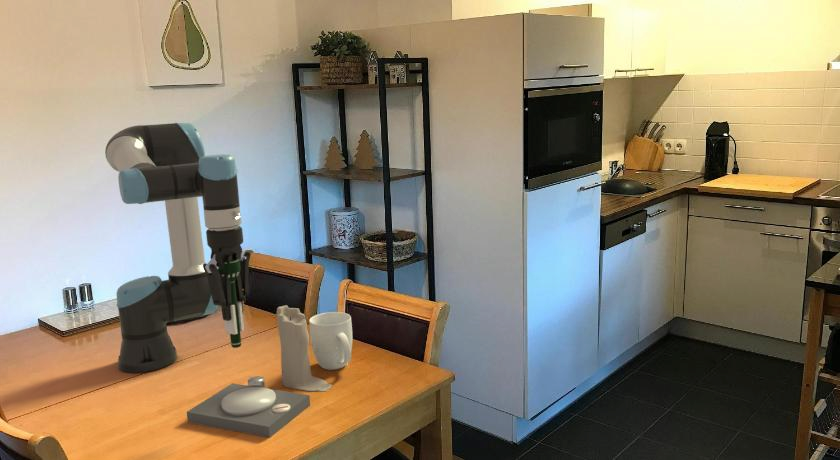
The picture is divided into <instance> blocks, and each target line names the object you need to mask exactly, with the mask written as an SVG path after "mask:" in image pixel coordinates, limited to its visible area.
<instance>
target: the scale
mask: <svg viewBox="0 0 840 460" xmlns="http://www.w3.org/2000/svg"><path fill="white" fill-rule="evenodd" d="M310 396H311V395H310V394H306V393H305V394H304V393H300V392H292V391H285V390H279V389H271V388H267V387H265V388H263V387H254V386H248V384H247V385H245V384H240V383H233V382H231V383H230V384H229V385H227V386H225V387H224V388H222V389H221V390H219V391H218V392H216V393H215V394H213V395H211V396H210V397H208V398H206V399H205V400H204V401H201V402H200V403H199V404H197V405H196V406H193V407H192V408H191V409H189V410H187V411H186V418H187V423H190V424H194V425H195V424H196V425H200V426H206V427H211V428H216V429H222V430H225V431H226V430H228V431H233V432H239V433H244V434H249V435H255V436H259V437H265V438H270V439H271V437H272V436H274V435H275V434H277V432H279V431H280V430H281V429H282V428H284V427H285V426H286V425H288V423H290V422H291V421H293V419H295V418H296V417H297V416H299V415H300V414H301V413H302V412H304V411H305V410H306V409H307V408H308V407H310V406H311V399H310V398H311V397H310Z"/></svg>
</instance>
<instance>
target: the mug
mask: <svg viewBox="0 0 840 460" xmlns="http://www.w3.org/2000/svg"><path fill="white" fill-rule="evenodd" d="M308 320H309V338H310V343H311V350H312V351H313V356H314V358H315V360H316V362H317V364H318V365H319V366H320V367H321V368H322V369H324V370H329V371H331V370H334V371H335V370H339V369H342V368H344V367H346V365H347V364H349V363H350V362H351V360H352V349H353V327H352V326H353V324H352V316H351V315H350V314H349V313H346V312H341V311H329V312H323V313H318V314H315V315H313V316H312V317H310V318H309V319H308Z"/></svg>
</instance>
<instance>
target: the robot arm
mask: <svg viewBox="0 0 840 460" xmlns="http://www.w3.org/2000/svg"><path fill="white" fill-rule="evenodd" d="M204 147H205V146H204V143H203V140H202V137H201V134H200V132H199V130H198V129H197V127H196V126H195V125H194V124H193V123H190V122H173V123H162V124H160V123H159V124H145V125H143V124H141V125H140V124H139V125H133V126H129V127H127V128H126V127H125V128H123V129H122V130H120V131H118V132H117V133H115V134H114V135H113V136H112V137H111V138H110V139H109V140H108V142H107V144H106V146H105V150H104V151H105V158H106V161H107V163H108V164H109V166H110V167H111V168H112V169H113V170H115V171H117V172H118V177H117V178H118V189H119V193H120V197H121V200H122V202H123V203H124V204H125V205H126V204H127V205H132V204H133V205H135V204H138V205H142V204H149V203H155V202H164V205H165V214H166V220H167V229H168V237H169V238H168V239H169V244H170V253H171V254H170V255H171V260H172V261H171V262H172V266H171V269H169V271H168V272H167V275H168V279H165V280H162V278H161V277H160V276H158V275H151V276H149V275H148V276H142V277H138V278H135V279H133V280H129V281H127V282H125V283H124V284H122V285H120V286H119V287H118V288H117V290H116V307H117V309H118V311H117V312H118V317H119V324H120V325H119V326H120V334H121V344H120V350H119V351H120V352H119V355H118V358H117V363H118V369H119V370H120V371H121V372H123V373H124V372H125V373H131V374H139V373H140V374H141V373H148V372H153V371H157V370H161V369H163V368H165V367H169V366H170V365H172V364H173V363H174V362H176V360H178V354H177V353H178V352H177V349H176V347H175V346H174V343H173V341H172V338H171V336H170V335H169V332H168V327H167V326H168V325H167V324H168V323H167V322H172V321H177V320H182V319H188V318H193V317H198V316H199V318H202V317H204V316H206V315H210V314H214V313H216V311H217V310H218V308H219V307H221V314H222V319H223V322H224V330H225V334H229V335H230V334H237V333H238V332H237V322H236V313H235V305H232V298H231V280H230V279H229V278H228V275H229V274H230V273H229V268H228V264H229V263H230V261H232V260H236V259H238V258H239V260H240V272H239V275H238V276H237V278H236V280H235V287H236V297H237V306H238V316H239V326H240V332H244V330H245V325H244V305H243V302H246V301H247V296H249V284H250V283H249V279H250V278H249V276H250V275H249V273H250V259H251V252H250V251H244V250H243V248H242V246H241V245H242V244H243V243H244V233H243V227H242V226H240V225H241V224H242V217H241V209H240V196H239V195H240V193H239V184H238V169H237V165H236V160H235V157H234V156H233V155H231V154H210V155H206V152H205V148H204ZM200 197H201V198H202V204H203V216H204V217H203V218H204V225H205V228H207V229H206V231H205V234H206V245H207V246H208V247H209V248H210V250H211V253H210V261H208V262H206V259H205V251H204V243H203V235H202V226H201V224H202V223H201V219H200V209H199V200H198V198H200ZM225 261H227V273H226V275H224V276H220V274H219V271H218V269H224V268H225ZM218 306H219V307H218ZM203 315H204V316H203Z"/></svg>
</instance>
